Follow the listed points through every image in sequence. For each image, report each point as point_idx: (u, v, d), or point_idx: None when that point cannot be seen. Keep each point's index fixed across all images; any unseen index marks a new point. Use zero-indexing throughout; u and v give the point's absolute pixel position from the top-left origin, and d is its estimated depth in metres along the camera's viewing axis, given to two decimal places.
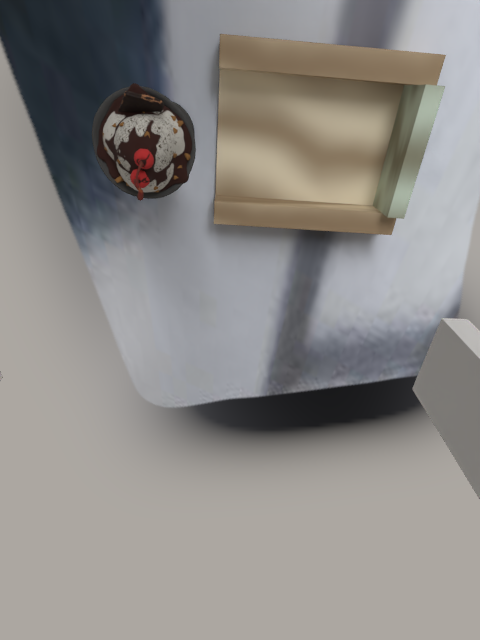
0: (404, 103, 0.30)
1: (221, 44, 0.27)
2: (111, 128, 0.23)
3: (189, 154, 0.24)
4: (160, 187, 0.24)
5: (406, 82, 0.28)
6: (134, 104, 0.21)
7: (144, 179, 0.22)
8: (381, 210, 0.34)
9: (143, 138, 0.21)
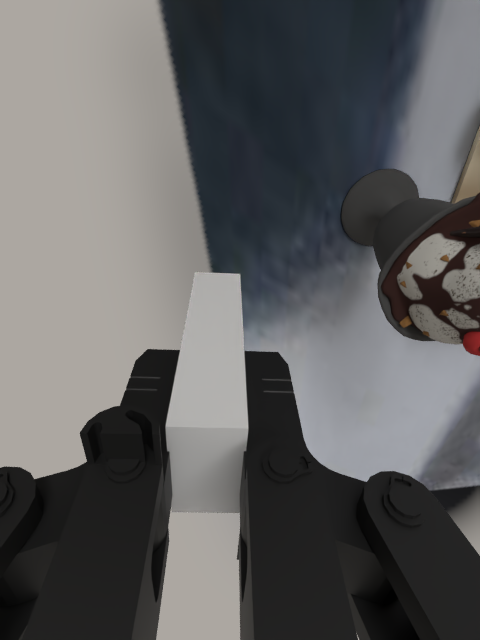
0: None
1: None
2: (436, 261, 0.14)
3: None
4: None
5: None
6: None
7: None
8: None
9: None
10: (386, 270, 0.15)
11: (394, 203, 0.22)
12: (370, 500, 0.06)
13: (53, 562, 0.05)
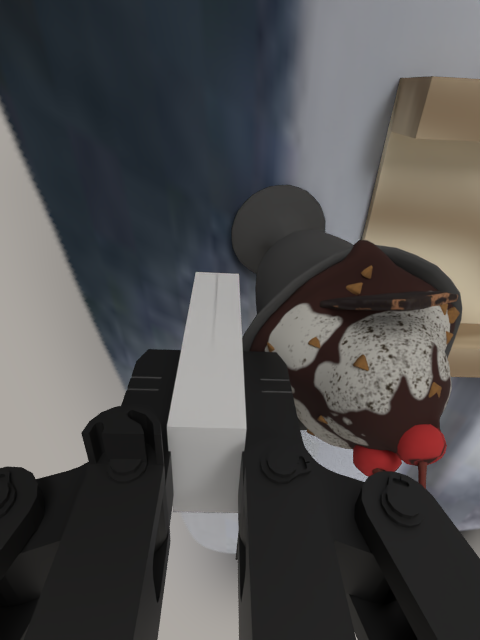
0: None
1: (430, 96, 0.13)
2: (304, 347, 0.09)
3: None
4: None
5: None
6: None
7: None
8: None
9: (425, 402, 0.08)
10: None
11: (291, 228, 0.18)
12: (368, 500, 0.06)
13: (56, 562, 0.05)
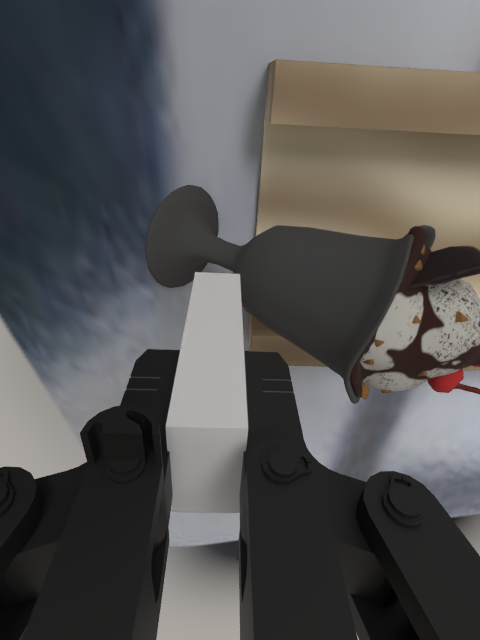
0: None
1: (277, 80, 0.13)
2: (409, 327, 0.11)
3: None
4: None
5: None
6: None
7: None
8: None
9: None
10: None
11: (208, 229, 0.17)
12: (370, 500, 0.06)
13: (54, 562, 0.05)
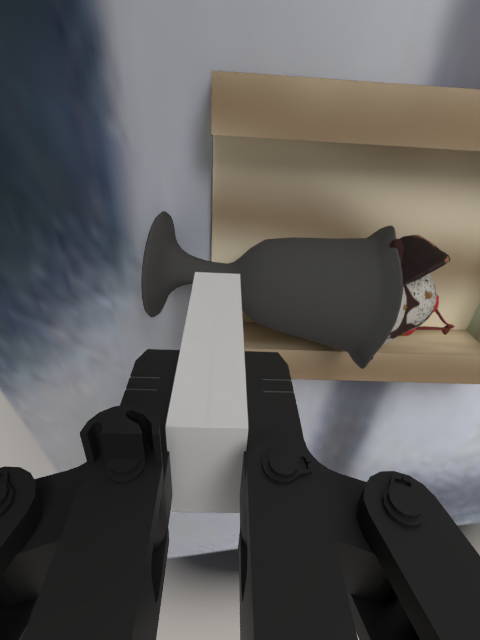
0: None
1: (215, 91, 0.13)
2: (401, 313, 0.15)
3: None
4: None
5: None
6: None
7: None
8: None
9: None
10: None
11: (185, 252, 0.17)
12: (370, 500, 0.06)
13: (53, 562, 0.05)
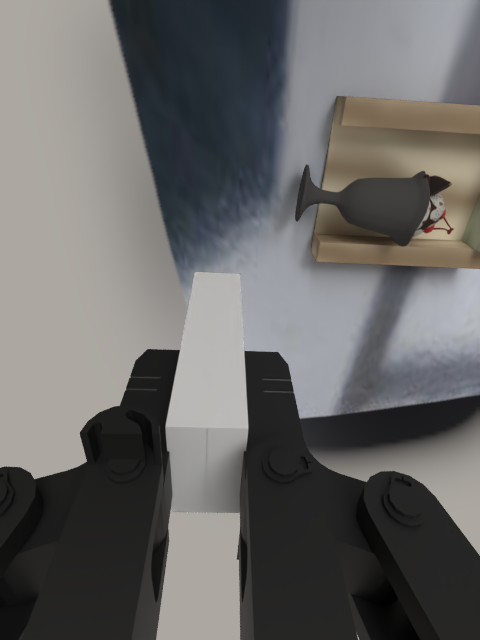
0: None
1: (346, 105, 0.29)
2: (428, 211, 0.31)
3: None
4: None
5: None
6: None
7: None
8: (474, 247, 0.36)
9: None
10: None
11: None
12: (370, 500, 0.06)
13: (53, 561, 0.05)
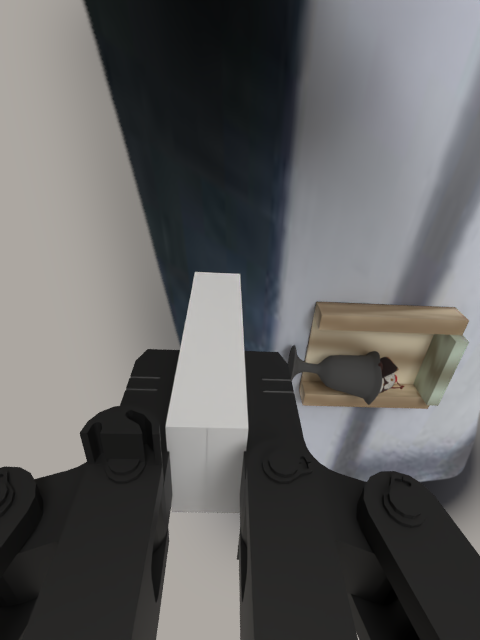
0: (439, 336, 0.44)
1: (322, 319, 0.41)
2: (382, 386, 0.43)
3: None
4: None
5: (442, 333, 0.42)
6: None
7: None
8: (421, 395, 0.48)
9: None
10: (373, 399, 0.43)
11: (301, 360, 0.45)
12: (370, 500, 0.06)
13: (53, 562, 0.05)
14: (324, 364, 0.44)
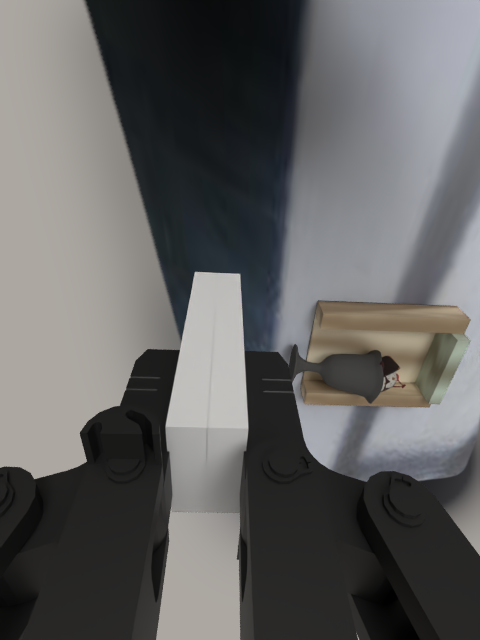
0: (441, 335, 0.44)
1: (323, 318, 0.41)
2: (383, 385, 0.43)
3: None
4: None
5: (444, 332, 0.42)
6: None
7: None
8: (422, 393, 0.48)
9: None
10: (374, 398, 0.43)
11: None
12: (370, 500, 0.06)
13: (53, 561, 0.05)
14: (326, 363, 0.44)
